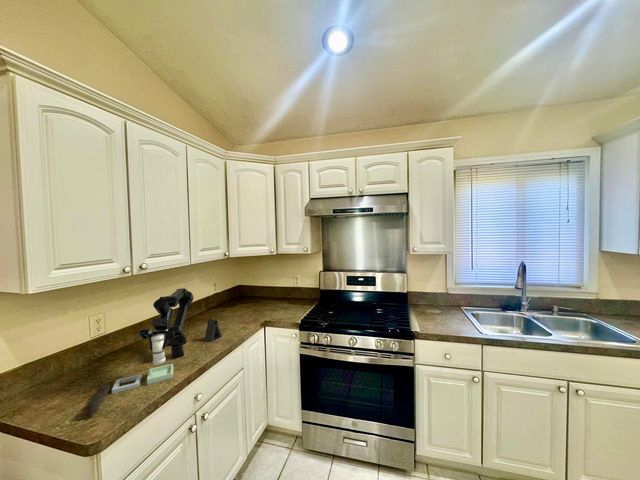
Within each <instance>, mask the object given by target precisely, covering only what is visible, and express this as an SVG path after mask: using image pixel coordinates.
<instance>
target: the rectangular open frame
mask: <svg viewBox="0 0 640 480" xmlns="http://www.w3.org/2000/svg"><path fill="white" fill-rule="evenodd" d="M142 377H143V376H142V373H139V374H134V375H131V376H126V377H122V378H118V379H116V380H115V382H114V384H113V387H111V394H116V393H119V392H123V391H124V392H125V391H128V390H132V389H136V388H139V387H140V384H141V382H142V381H141V380H142ZM132 381H135V382H133V383H128V382H132ZM124 383H128V384H125V385H121V384H124Z"/></svg>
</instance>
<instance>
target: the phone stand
mask: <svg viewBox="0 0 640 480" xmlns="http://www.w3.org/2000/svg"><path fill="white" fill-rule="evenodd" d="M220 338H223V333H222V332H221V330H220V326H219V322H218V320H217V319H211V318H209V319H208V320H207V326H206V330H205V336H204V341H206V342H214V341H216V340H218V339H220Z"/></svg>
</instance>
